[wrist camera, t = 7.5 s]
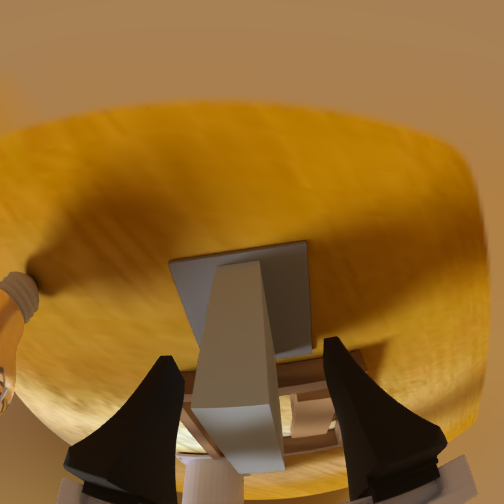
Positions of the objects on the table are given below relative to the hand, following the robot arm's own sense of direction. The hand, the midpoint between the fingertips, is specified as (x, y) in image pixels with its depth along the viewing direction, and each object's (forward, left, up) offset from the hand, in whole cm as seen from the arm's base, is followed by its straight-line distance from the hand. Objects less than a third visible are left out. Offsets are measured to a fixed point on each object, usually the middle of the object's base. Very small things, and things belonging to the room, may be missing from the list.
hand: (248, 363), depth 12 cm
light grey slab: (0, 0, -3) cm, 3 cm away
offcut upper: (-12, -4, -4) cm, 13 cm away
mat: (0, 0, -4) cm, 4 cm away
